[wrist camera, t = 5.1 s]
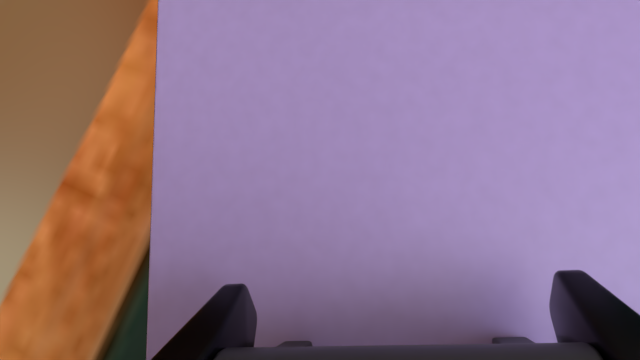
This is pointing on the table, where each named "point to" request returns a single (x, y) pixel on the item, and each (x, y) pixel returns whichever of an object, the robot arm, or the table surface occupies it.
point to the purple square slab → (394, 171)
